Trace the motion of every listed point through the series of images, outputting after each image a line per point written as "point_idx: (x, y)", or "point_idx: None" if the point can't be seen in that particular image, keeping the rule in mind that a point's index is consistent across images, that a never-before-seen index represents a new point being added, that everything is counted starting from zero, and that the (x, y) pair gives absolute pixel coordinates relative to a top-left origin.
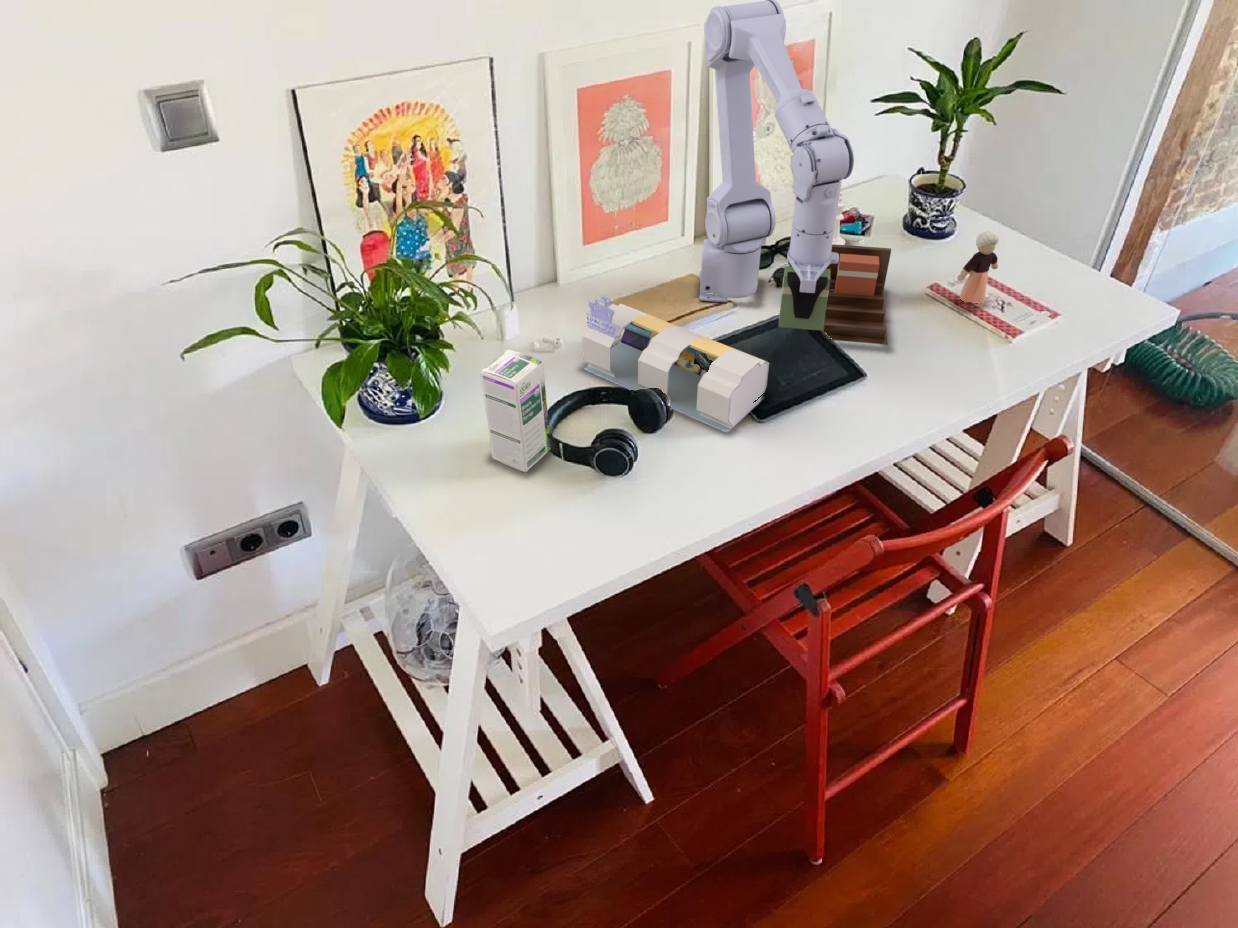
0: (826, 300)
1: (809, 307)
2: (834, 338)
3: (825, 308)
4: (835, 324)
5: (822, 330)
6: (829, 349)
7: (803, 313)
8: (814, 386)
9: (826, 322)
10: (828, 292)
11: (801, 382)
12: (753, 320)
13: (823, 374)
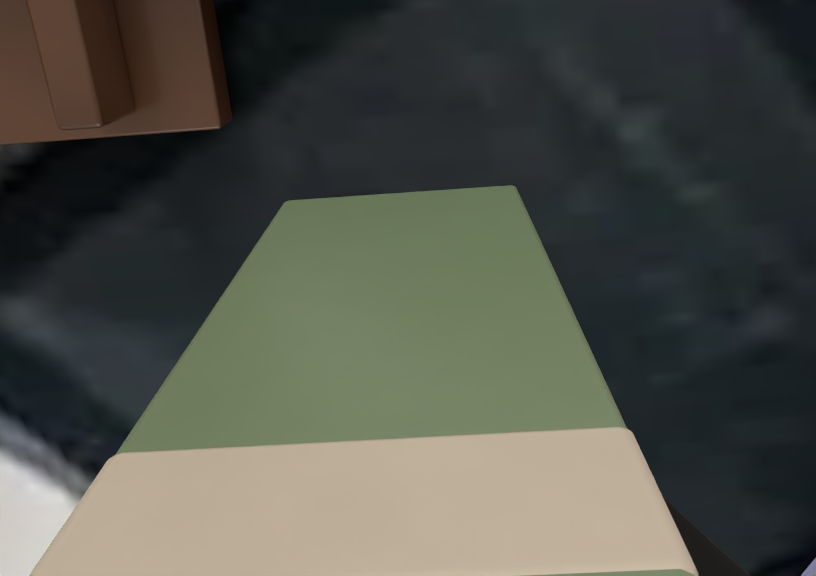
0: (610, 395)
1: None
2: (179, 14)
3: (566, 307)
4: (57, 28)
5: (515, 188)
6: (278, 40)
7: None
8: (792, 113)
9: (58, 117)
10: (660, 512)
11: (747, 208)
12: None
13: (630, 59)
